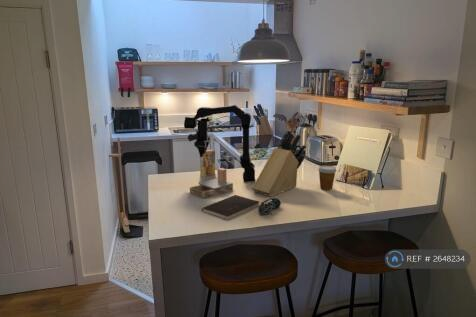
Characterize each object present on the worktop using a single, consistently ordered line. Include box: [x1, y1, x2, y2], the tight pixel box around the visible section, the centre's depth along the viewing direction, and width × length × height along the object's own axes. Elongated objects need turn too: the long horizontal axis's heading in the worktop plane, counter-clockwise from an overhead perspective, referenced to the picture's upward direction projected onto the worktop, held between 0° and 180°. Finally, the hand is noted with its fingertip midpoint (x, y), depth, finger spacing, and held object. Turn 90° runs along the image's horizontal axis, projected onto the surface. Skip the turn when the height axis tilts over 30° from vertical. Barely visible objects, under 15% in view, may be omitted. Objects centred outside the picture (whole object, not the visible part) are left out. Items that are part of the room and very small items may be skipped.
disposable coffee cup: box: [317, 165, 337, 191], centre depth 189 cm, size 10×10×12 cm
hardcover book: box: [201, 194, 260, 220], centre depth 163 cm, size 16×23×2 cm
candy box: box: [199, 149, 216, 177], centre depth 217 cm, size 9×4×15 cm, turn 129°
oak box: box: [189, 184, 234, 199], centre depth 186 cm, size 20×12×3 cm, turn 134°
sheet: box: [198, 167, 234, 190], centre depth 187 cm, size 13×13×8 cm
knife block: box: [251, 129, 307, 197], centre depth 188 cm, size 11×35×31 cm, turn 137°
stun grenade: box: [257, 197, 282, 216], centre depth 158 cm, size 6×6×14 cm
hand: (202, 155), depth 205 cm, fingers open, 9 cm apart
